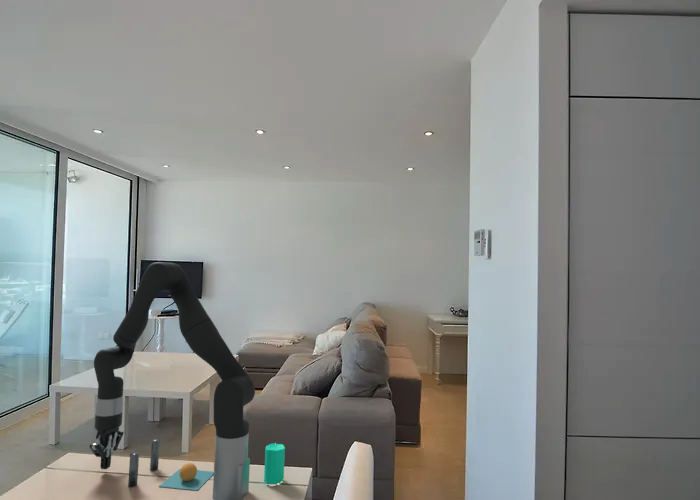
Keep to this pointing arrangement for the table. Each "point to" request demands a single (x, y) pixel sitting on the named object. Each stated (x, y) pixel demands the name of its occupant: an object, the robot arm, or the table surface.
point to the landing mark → (187, 485)
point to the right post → (154, 454)
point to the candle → (274, 463)
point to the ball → (188, 472)
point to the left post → (133, 469)
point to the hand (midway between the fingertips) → (105, 468)
